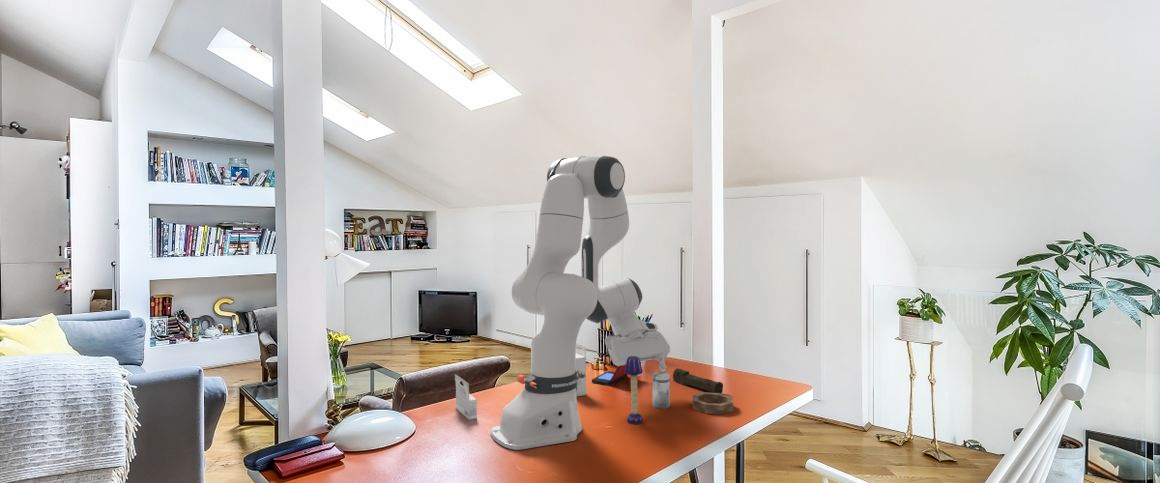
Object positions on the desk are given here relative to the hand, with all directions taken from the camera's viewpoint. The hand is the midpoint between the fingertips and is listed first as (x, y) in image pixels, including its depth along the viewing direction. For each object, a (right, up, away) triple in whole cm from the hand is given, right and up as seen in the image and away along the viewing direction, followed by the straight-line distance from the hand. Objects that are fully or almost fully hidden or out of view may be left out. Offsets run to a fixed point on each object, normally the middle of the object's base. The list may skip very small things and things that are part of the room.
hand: (651, 372), depth 150 cm
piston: (+2, -9, -3) cm, 9 cm away
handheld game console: (-9, -9, +22) cm, 25 cm away
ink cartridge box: (-52, -9, -9) cm, 53 cm away
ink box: (-23, -9, +9) cm, 26 cm away
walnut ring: (+16, -9, -5) cm, 19 cm away
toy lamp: (-7, -9, -15) cm, 19 cm away
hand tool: (+15, -9, +14) cm, 22 cm away
